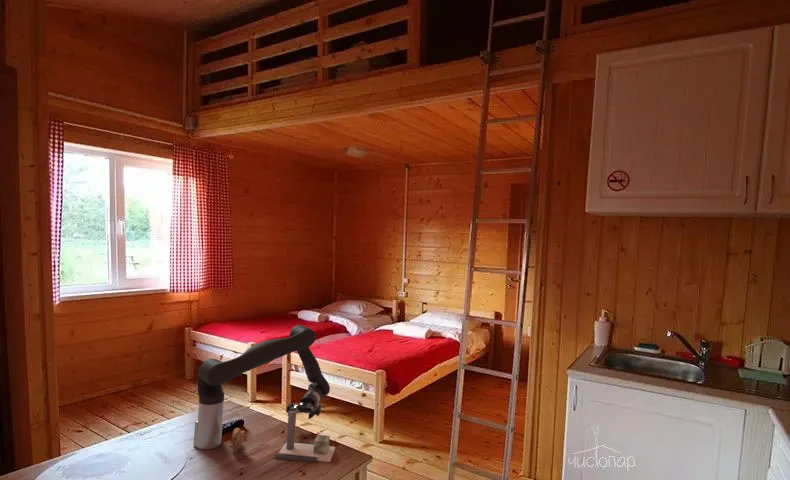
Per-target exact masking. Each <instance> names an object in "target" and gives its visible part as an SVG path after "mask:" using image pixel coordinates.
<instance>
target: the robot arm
mask: <svg viewBox="0 0 790 480" xmlns="http://www.w3.org/2000/svg"><path fill="white" fill-rule="evenodd" d="M316 339H317V334H316V331H314V329H312V328H310V327H307V326H305V325H302V324H296V325H294V326H293V327H292V328H291V330H290V332H289V337H285V338H273V339H267V340H264V341H261V342H259V343H256V344H253V345H252V346H250V347H248V349H246V350H245V351H244V352H243V353H242V354H241V355H239V356H237V357H234V358H232V359H229V360H225V361H221V360H218V359H217V358H208V359H206V360H204V361H202V363H201V365H200V366H199V369H198V374H197V394H198V395H197V396H198V407H197V408H198V411H197V420H196V421H194V422H195V423H194V434H193V447H195V448H197V449H199V450H212V449H215V448H217V447H219V446H220V445H221V444H222V436H223V433H222V432H223V420H224V419H223V418H224V406H225V405H224V404H225V392H224V390H223V387H222V385H223V384H225V383H227V382H230V381H231V380H232V379H234V378H236V377H238V376H240V375H242V374H244V373H246V372H249V371H251V370H253V369H256V368H258V367H261V366H264V365H266V364H268V363H270V362H273V361H275V360H277V359H279V358H282V357H284V356H286V355H289V354H292V353H294V352H297V355H298V357H299V358H300V360H301V363H302V366H303V369H304V371H305V374H306V379H307V381H308V382H309V383H310V384H309V385H308V386H307V387H308V388H307V392H306V393H305V394H304V395H303V396H302V397H301V399H300V400H299V402H298V403H296V404H295V403H294V402H293V401H292V402H290V403H289V404H288V405H287V406H286V414H288V413H289V411H296V415H297V414H300V413H305V414H308V420H311V419H312V418H314V417H315V416H316V417H318V416H320V414H321V412H322V404H320V401H321V399H322V397H326V396H328V395H329V394H330V392H331V388H330V383H329V382H328V381H327V379H326V378H325V376H324V374H323V373H322V370H321V367H320V364H319V362H318V360H317V358H316V356H315V355H314V354H313V351H312V350H311V349H310V347H311V346H312V345H314V343H315V341H316Z"/></svg>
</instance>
